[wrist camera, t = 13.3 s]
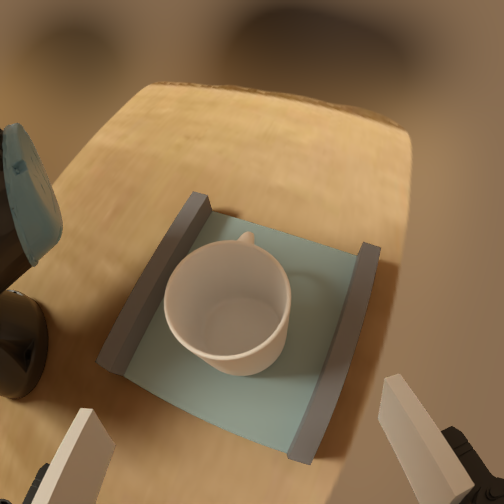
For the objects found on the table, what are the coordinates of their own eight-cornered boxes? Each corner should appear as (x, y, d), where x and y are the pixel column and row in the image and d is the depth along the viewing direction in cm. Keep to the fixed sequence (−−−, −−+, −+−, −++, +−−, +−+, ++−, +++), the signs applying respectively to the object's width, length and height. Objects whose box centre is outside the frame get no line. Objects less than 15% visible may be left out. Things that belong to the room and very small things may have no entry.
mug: (296, 271, 32) (304, 209, 22) (277, 384, 26) (279, 371, 17) (218, 260, 33) (196, 198, 24) (190, 367, 27) (148, 343, 18)
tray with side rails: (305, 458, 23) (310, 465, 20) (112, 368, 28) (95, 362, 25) (372, 263, 32) (381, 247, 29) (199, 209, 38) (193, 191, 35)
